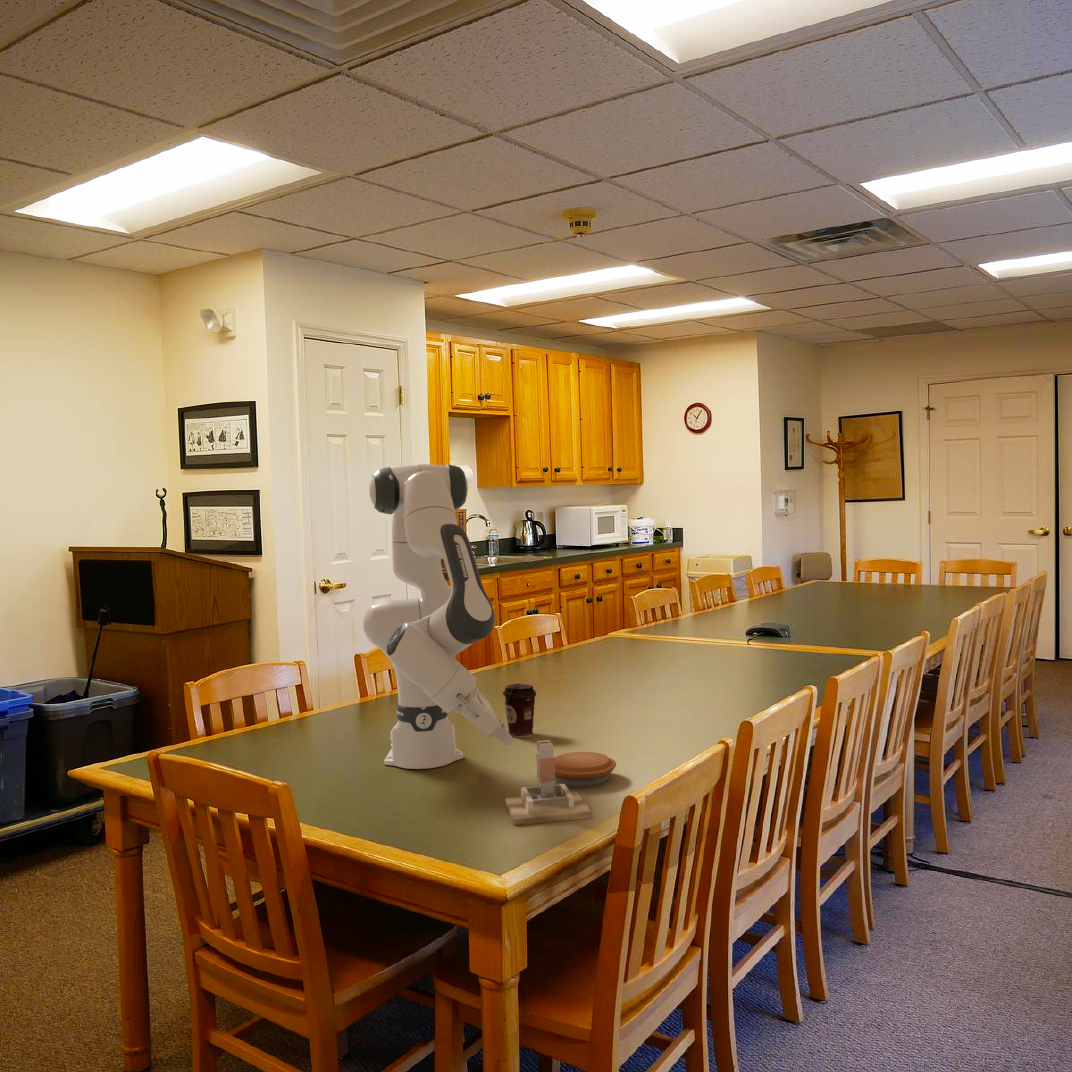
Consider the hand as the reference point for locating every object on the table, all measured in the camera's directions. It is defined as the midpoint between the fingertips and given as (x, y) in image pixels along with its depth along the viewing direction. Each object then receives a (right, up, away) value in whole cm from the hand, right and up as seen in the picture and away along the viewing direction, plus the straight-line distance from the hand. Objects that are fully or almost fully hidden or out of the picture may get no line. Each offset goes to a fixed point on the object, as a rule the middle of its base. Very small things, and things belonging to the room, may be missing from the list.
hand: (506, 735), depth 187 cm
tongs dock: (+8, -15, +2) cm, 17 cm away
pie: (+16, -14, +21) cm, 30 cm away
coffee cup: (+2, -13, +61) cm, 62 cm away
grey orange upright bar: (+8, -14, +2) cm, 16 cm away
